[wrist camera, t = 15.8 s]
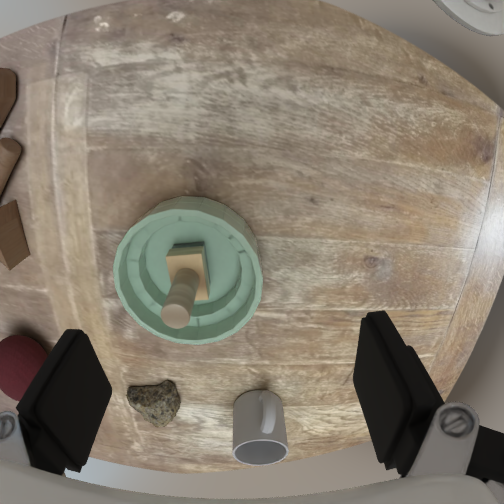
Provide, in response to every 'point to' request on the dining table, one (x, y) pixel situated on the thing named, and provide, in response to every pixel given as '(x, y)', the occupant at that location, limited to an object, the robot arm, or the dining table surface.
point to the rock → (155, 402)
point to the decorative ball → (19, 364)
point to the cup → (259, 429)
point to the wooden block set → (3, 160)
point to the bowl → (219, 263)
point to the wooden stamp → (185, 282)
